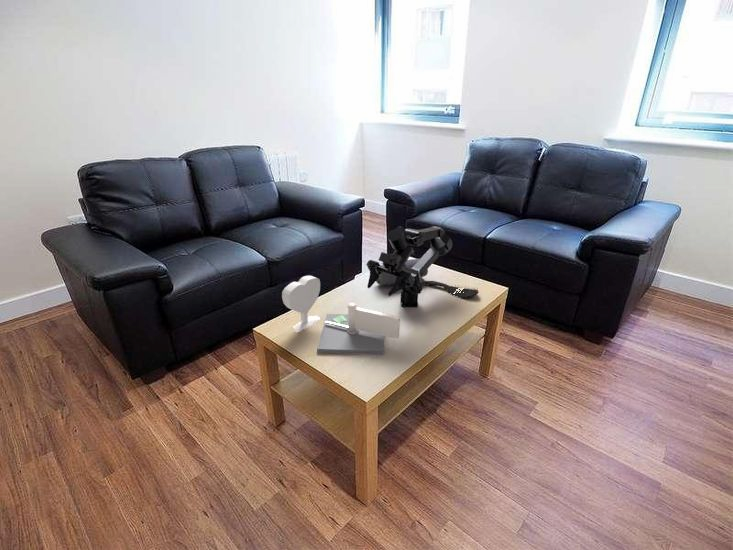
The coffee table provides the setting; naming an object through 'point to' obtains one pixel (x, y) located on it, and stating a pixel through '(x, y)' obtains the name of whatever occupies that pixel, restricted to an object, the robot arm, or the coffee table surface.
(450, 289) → the hairbrush
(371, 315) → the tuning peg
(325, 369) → the coffee table surface
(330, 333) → the grey flat panel
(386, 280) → the bluetooth speaker
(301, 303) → the heart sculpture
